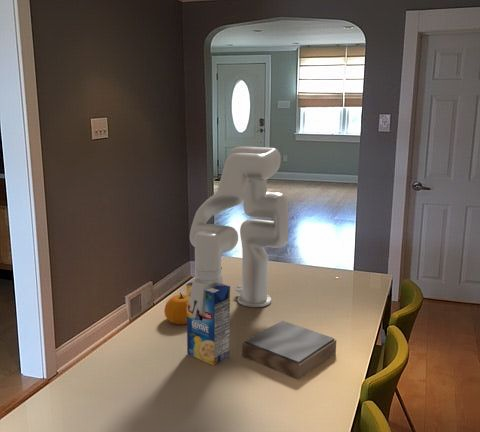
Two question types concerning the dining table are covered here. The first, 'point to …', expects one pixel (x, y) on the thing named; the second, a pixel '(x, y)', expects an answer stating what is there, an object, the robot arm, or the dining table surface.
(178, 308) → the fruit
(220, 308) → the beverage box
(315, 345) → the podium
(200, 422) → the dining table surface
